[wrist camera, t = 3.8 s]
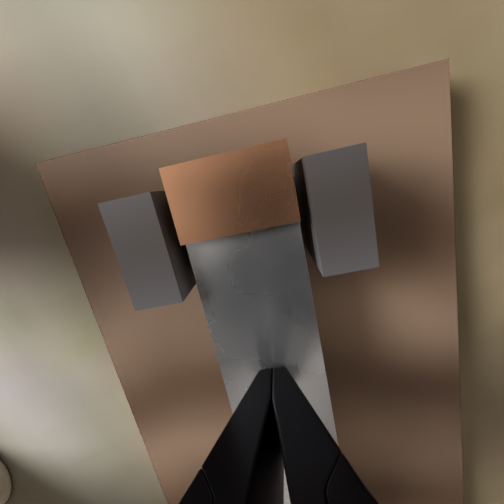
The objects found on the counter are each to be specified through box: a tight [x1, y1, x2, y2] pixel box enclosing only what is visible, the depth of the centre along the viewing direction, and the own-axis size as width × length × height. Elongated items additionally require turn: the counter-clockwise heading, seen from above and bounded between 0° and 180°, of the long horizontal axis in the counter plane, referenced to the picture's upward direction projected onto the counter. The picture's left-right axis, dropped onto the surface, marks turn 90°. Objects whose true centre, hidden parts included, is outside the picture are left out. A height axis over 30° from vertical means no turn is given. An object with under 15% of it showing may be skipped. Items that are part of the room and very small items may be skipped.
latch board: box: [35, 59, 464, 504], centre depth 11 cm, size 22×14×4 cm, turn 12°
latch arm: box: [159, 138, 338, 504], centre depth 9 cm, size 19×4×2 cm, turn 12°
